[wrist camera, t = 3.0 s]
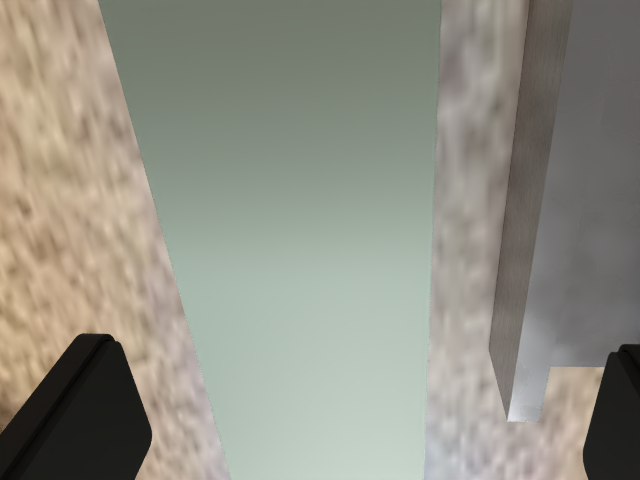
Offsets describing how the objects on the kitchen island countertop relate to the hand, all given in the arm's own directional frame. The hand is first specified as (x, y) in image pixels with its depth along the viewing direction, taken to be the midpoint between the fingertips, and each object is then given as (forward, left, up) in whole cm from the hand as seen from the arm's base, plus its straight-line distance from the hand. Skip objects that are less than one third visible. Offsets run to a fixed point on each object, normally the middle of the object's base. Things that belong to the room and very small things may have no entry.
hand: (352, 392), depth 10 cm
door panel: (0, -1, -11) cm, 11 cm away
